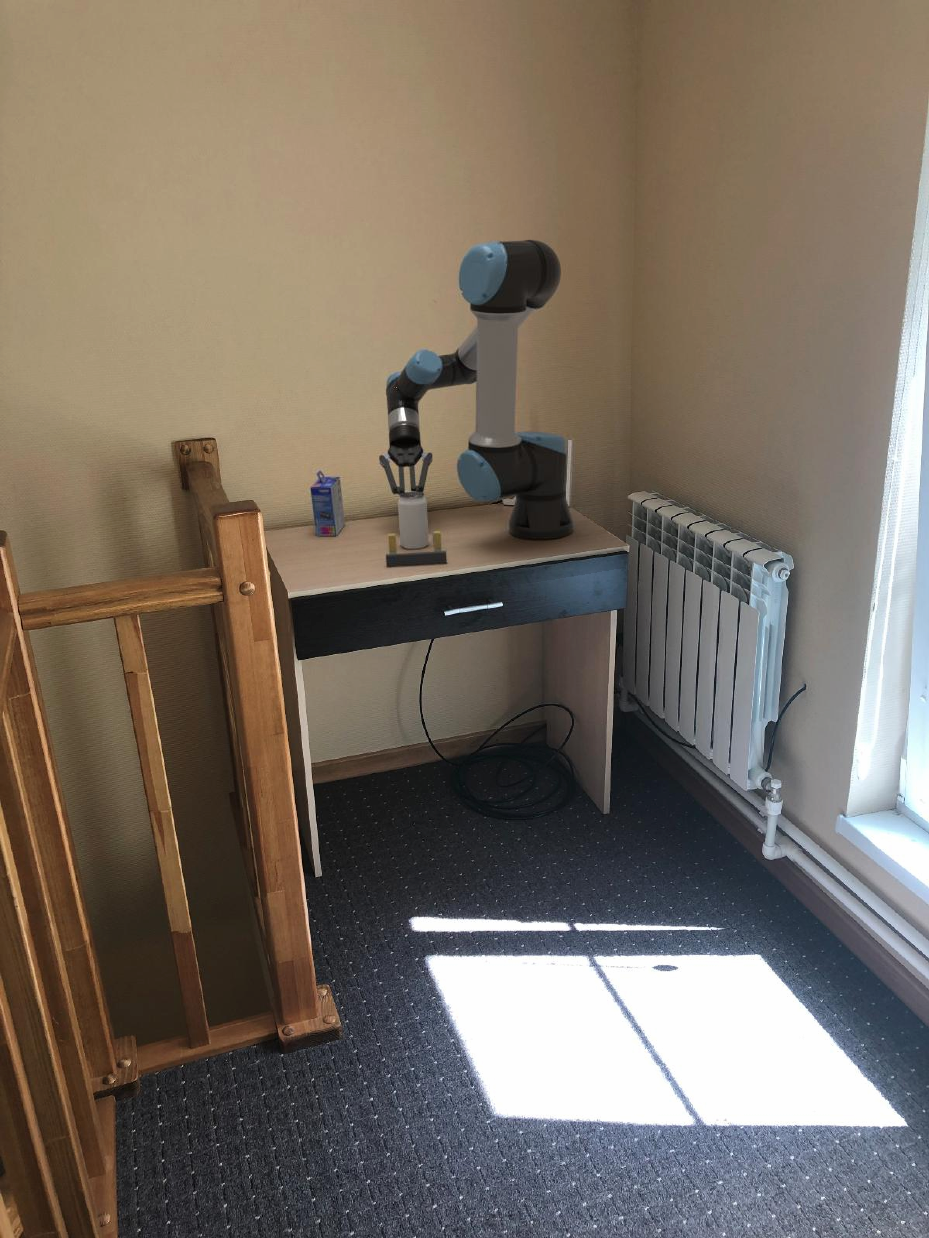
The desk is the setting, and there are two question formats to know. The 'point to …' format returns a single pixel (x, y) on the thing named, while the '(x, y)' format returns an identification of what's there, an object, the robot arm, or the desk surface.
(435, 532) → the u-shaped rail frame
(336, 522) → the ink cartridge box
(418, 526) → the can
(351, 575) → the desk surface
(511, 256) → the robot arm
